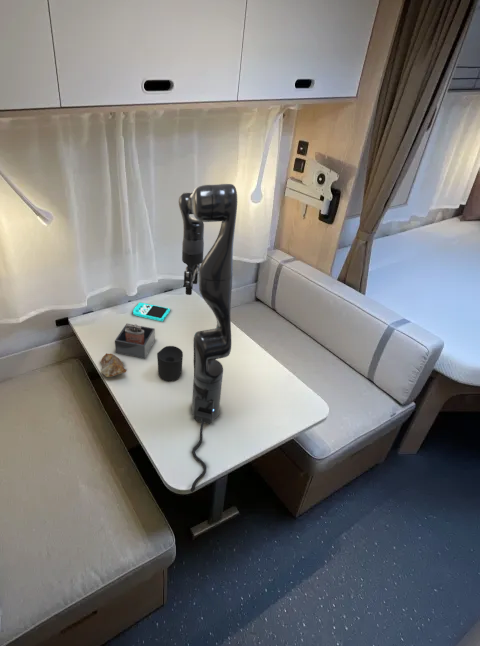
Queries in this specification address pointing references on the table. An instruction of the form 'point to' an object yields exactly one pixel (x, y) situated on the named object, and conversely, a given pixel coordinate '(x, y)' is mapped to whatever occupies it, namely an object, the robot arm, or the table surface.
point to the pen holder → (170, 363)
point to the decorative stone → (112, 365)
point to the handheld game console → (151, 311)
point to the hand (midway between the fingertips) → (191, 288)
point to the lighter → (134, 334)
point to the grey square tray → (134, 348)
